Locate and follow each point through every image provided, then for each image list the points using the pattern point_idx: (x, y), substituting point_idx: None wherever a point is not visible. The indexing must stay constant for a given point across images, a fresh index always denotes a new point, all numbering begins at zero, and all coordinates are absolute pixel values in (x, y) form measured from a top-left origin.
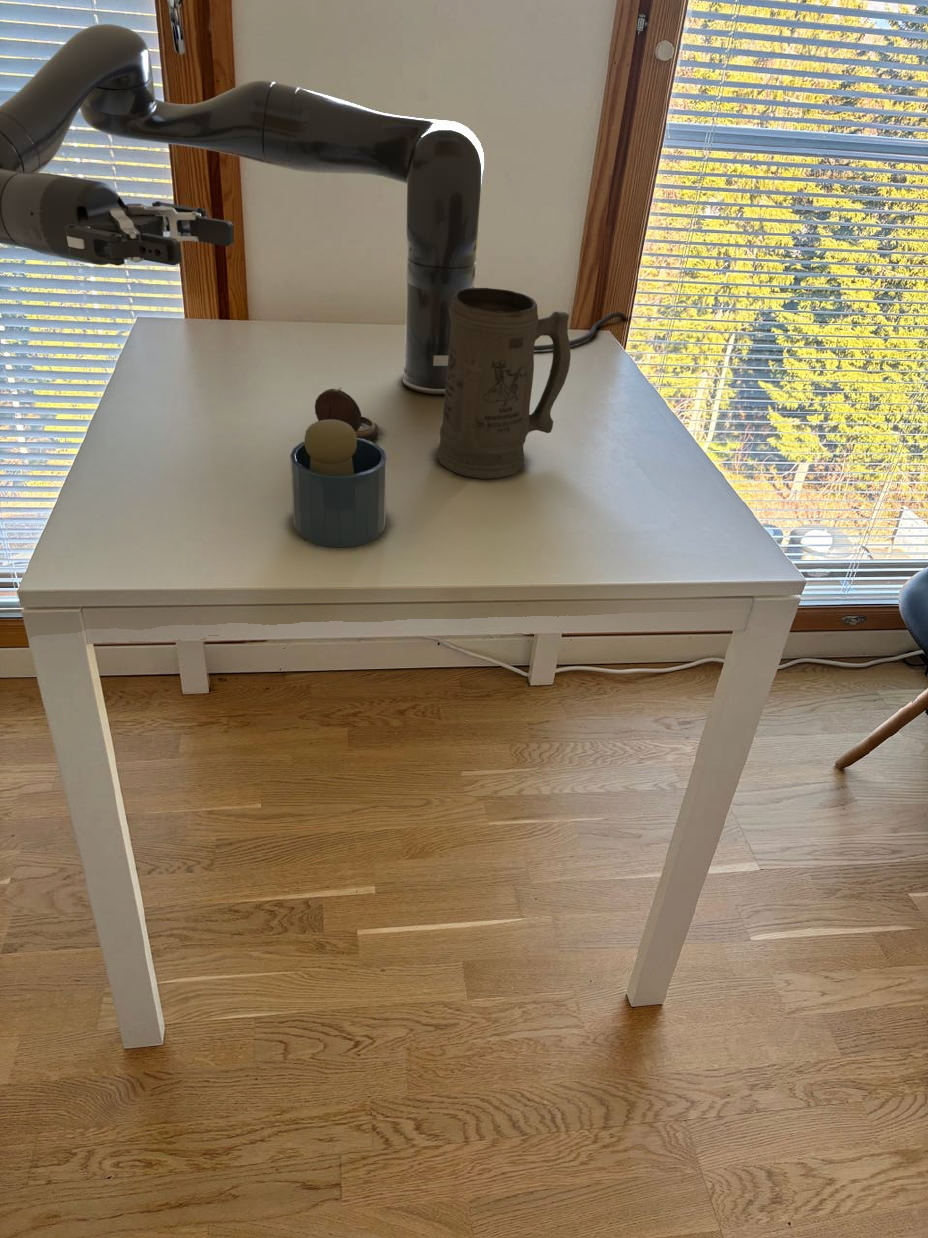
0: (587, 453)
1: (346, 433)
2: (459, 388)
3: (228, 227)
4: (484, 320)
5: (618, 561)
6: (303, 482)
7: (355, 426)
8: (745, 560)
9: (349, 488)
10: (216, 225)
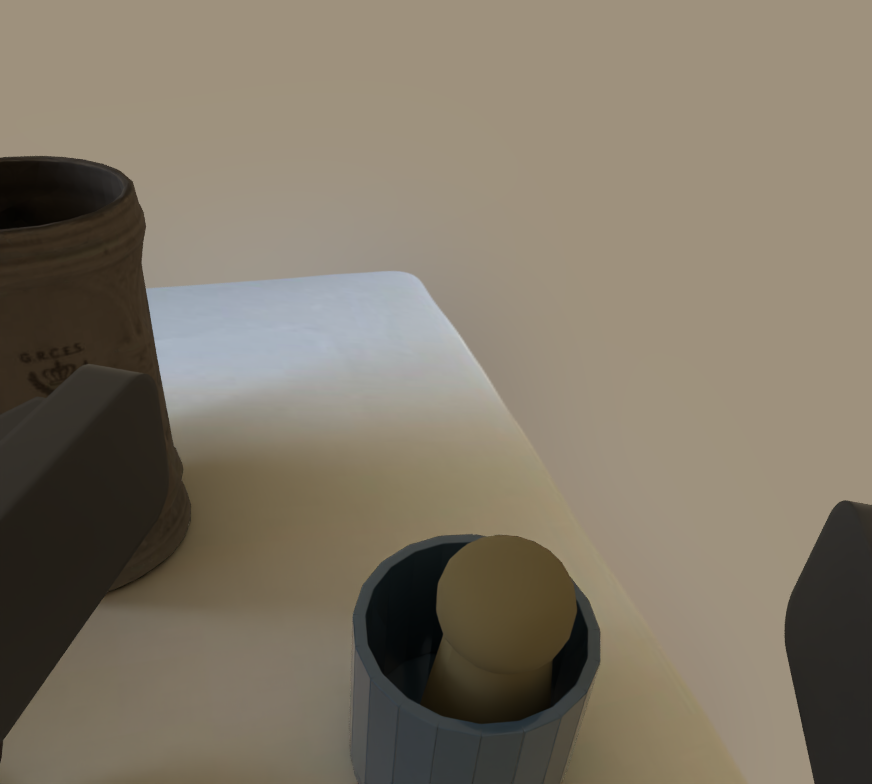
0: None
1: (525, 540)
2: None
3: (155, 391)
4: (131, 222)
5: (433, 375)
6: (585, 703)
7: (1, 752)
8: (386, 290)
9: None
10: (90, 462)
